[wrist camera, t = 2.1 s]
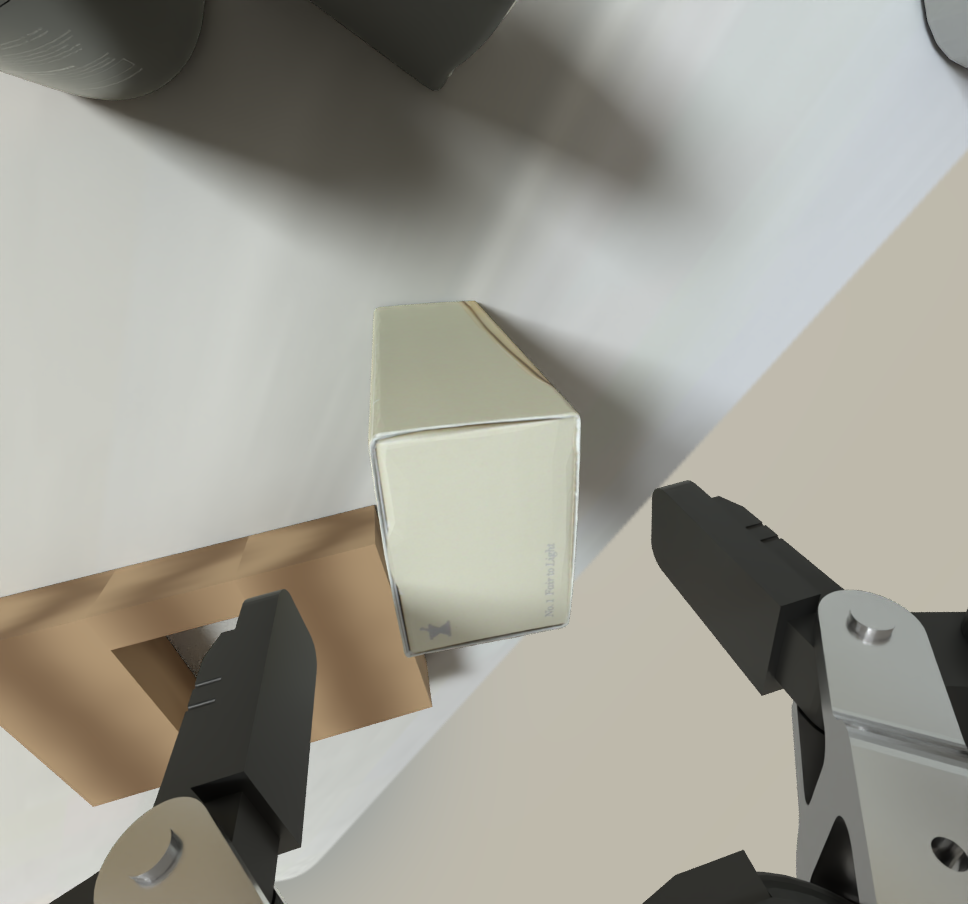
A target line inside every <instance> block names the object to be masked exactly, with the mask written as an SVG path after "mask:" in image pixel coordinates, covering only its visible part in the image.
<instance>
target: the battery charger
mask: <svg viewBox="0 0 968 904" xmlns="http://www.w3.org/2000/svg"><path fill="white" fill-rule="evenodd" d="M310 1H311V2H312V3H314V4H315V5H316V6H318V7H319V8H320V9H322V10H323V11H324V12H326V13H327V14H328V15H330V16H331V17H332V18H334V19H335V20H336V21H338V22H339V23H340V24H342V25H343V26H345V27H346V28H347V29H349V30H350V31H351V32H353V33H354V34H355V35H357V36H358V37H359V38H361V39H362V40H364V41H365V42H366V43H368V44H369V45H370V46H372V47H373V48H374V49H376V50H377V51H378V52H380V53H381V54H383V55H384V56H385V57H387V58H388V59H389V60H391V61H392V62H393V63H395V64H396V65H397V66H399V67H400V68H402V69H403V70H404V71H406V72H407V73H408V74H410V75H411V76H413V77H414V78H415V79H417V80H418V81H419V82H421V83H422V84H424V85H425V86H426V87H428V88H429V89H431V90H439V89H440V88H442V86H443V85H444V83H445V81H446V79H447V78H448V76H451V75H452V72H453V71H454V69H455V68H456V67H457V66H459V65H460V64H461V63H463V62H464V61H465V60H466V59H467V58H469V57H470V56H471V55H472V54H473V53H474V52H475V51H476V50H478V49H479V48H480V47H481V46H482V45H483V44H484V42H485V41H486V40H487V39H488V38H489V37H490V36H491V35H492V33H493V32H494V31H495V29H496V28H497V27H498V25H499V24H500V22H501V21H502V20H503V19H504V18H505V16H506V15H507V14H508V13H509V11H510V10H511V9H512V7H513V6H514V5H515V3H516V2H517V1H518V0H310Z"/></svg>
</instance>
